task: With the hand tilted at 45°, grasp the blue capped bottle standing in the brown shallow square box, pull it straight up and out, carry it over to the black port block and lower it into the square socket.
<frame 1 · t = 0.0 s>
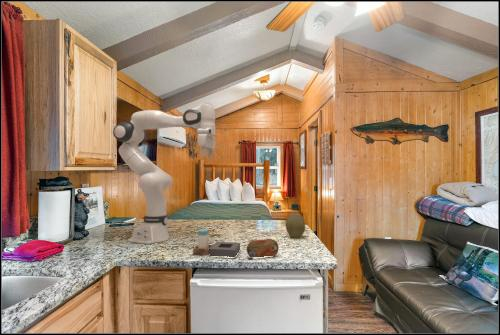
hand: (207, 156, 143), 48 cm above the countertop, tool pointing down, fingers open, 8 cm apart
blue capped bottle: (203, 253, 123), resting in brown shallow square box
brown shallow square box: (203, 252, 123), on the countertop
port: (225, 254, 121), on the countertop
olive brown vase: (295, 237, 152), on the countertop
tin: (262, 258, 117), on the countertop
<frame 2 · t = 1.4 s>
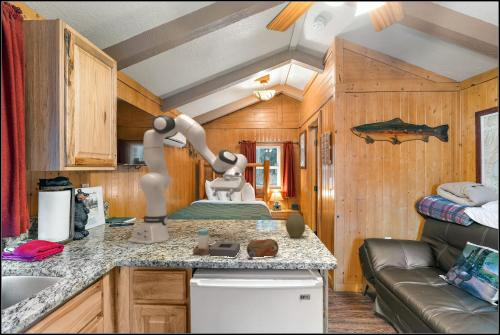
hand: (220, 196, 136), 26 cm above the countertop, tool tilted 45°, fingers open, 8 cm apart
nothing on the countertop moved.
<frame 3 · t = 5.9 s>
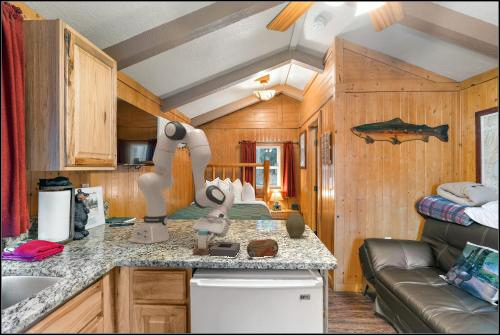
hand: (202, 241, 123), 6 cm above the countertop, tool tilted 45°, fingers closed on blue capped bottle, 5 cm apart
blue capped bottle: (203, 252, 123), resting in brown shallow square box, touching gripper
everything else where it was.
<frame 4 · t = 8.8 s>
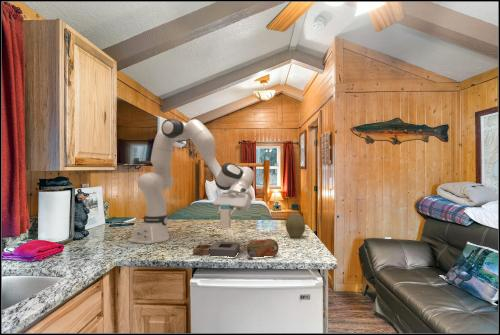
hand: (224, 215, 121), 19 cm above the countertop, tool tilted 45°, fingers closed on blue capped bottle, 5 cm apart
blue capped bottle: (225, 227, 121), point 13 cm above the countertop, touching gripper
everything else where it was.
when the fingers open (8 cm above the countertop, at t = 11.7 s): blue capped bottle drops 2 cm, resting in port.
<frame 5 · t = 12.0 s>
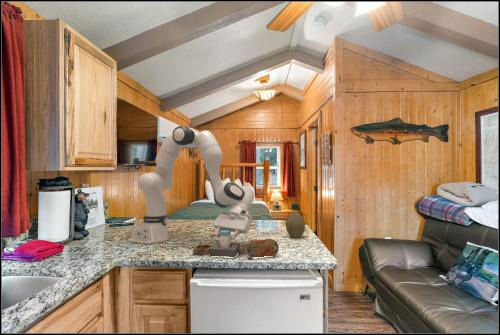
hand: (224, 237, 121), 8 cm above the countertop, tool tilted 45°, fingers open, 8 cm apart
blue capped bottle: (225, 254, 121), resting in port
everything else where it was.
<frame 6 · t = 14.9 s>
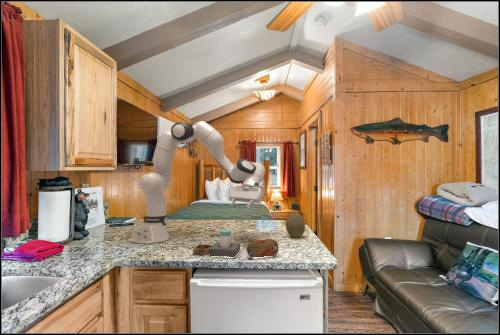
hand: (239, 207, 132), 21 cm above the countertop, tool tilted 45°, fingers open, 8 cm apart
nothing on the countertop moved.
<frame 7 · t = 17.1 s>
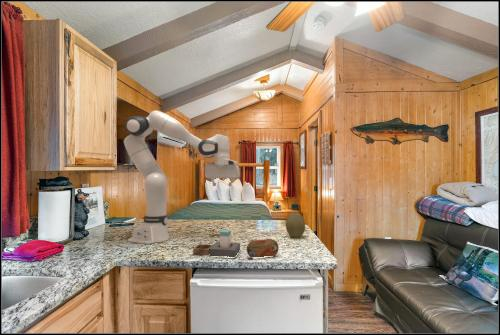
hand: (222, 186, 147), 31 cm above the countertop, tool pointing down, fingers open, 8 cm apart
nothing on the countertop moved.
at the end: blue capped bottle 0.1 cm off-centre on the port, point 0.0 cm above the port's base; blue capped bottle tilted 0°; the gripper is holding nothing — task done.
